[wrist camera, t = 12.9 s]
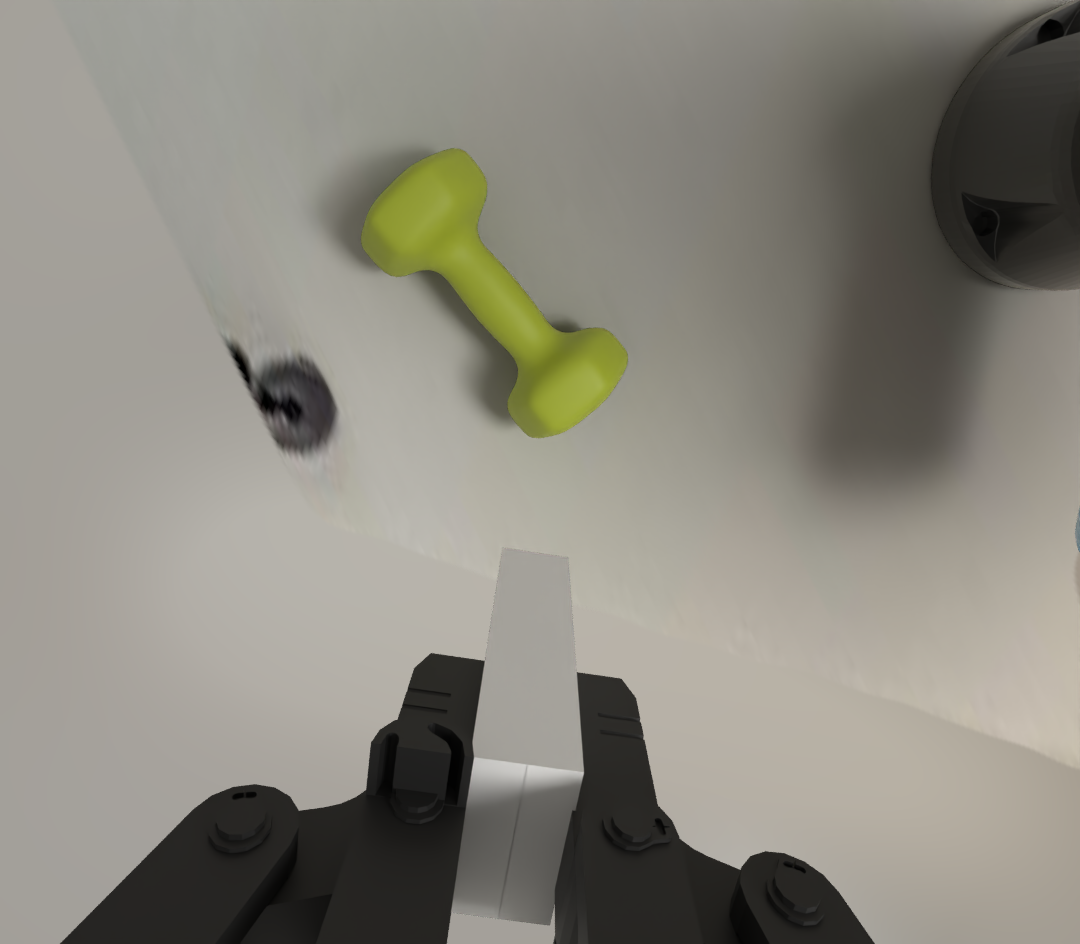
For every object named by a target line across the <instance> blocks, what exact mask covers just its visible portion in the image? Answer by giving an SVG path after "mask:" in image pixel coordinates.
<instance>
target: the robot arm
mask: <svg viewBox="0 0 1080 944" xmlns="http://www.w3.org/2000/svg"><path fill="white" fill-rule="evenodd" d="M932 195H933V202H934V207H935V212H936V216H937V219H938V222H939V225H940V227H941V229H942V232H943V234H944V236H945V238H946V240H947V241H948V243H949V244H950V246H951V248H952V249H953V250H954V252H955V253H956V254H957V255H958V256H959V257H960V259H961V260H962V261H963V262H964V263H966V264H967V265H968V266H969V267H970V268H971V269H973V270H974V271H975V272H977V273H979V274H980V275H982V276H983V277H985V278H987V279H989V280H991V281H994V282H996V283H999V284H1002V285H1006V286H1010V287H1014V288H1021V289H1035V290H1053V291H1057V290H1072V289H1079V288H1080V0H1074V1H1071V2H1069V3H1067V4H1064V5H1062V6H1060V7H1058V8H1056V9H1054V10H1052V11H1050V12H1048V13H1046V14H1044V15H1041V16H1039V17H1037V18H1035V19H1033V20H1032V21H1030V22H1028V23H1026V24H1024V25H1023V26H1021V27H1020V28H1018V29H1016V30H1015V31H1013V32H1012V33H1011V34H1009V35H1008V36H1006V37H1005V38H1004V39H1003V40H1001V41H1000V42H999V43H998V44H997V45H996V46H994V47H993V48H992V49H991V50H990V51H989V52H988V53H987V54H986V55H985V56H984V57H983V58H982V59H981V60H980V61H979V63H978V64H977V65H976V66H975V67H974V69H973V70H972V71H971V72H970V74H969V75H968V76H967V78H966V79H965V80H964V82H963V84H962V85H961V87H960V88H959V90H958V91H957V93H956V95H955V97H954V98H953V100H952V102H951V104H950V106H949V108H948V110H947V113H946V115H945V117H944V120H943V122H942V125H941V128H940V131H939V134H938V138H937V142H936V146H935V151H934V157H933V164H932ZM1075 536H1076V543H1077V546H1078V550H1079V552H1080V508H1079V513H1078V518H1077V523H1076V529H1075ZM572 615H573V614H572V600H571V587H570V573H569V559H568V557H562V556H555V555H549V554H542V553H536V552H529V551H523V550H516V549H509V548H503V547H502V554H501V560H500V566H499V573H498V579H497V586H496V592H495V598H494V605H493V611H492V617H491V624H490V630H489V637H488V643H487V649H486V657H485V661H481V660H475V659H468V658H461V657H454V656H447V655H439V654H432V653H431V654H429V656H427V657H426V658H425V659H424V660H423V661H422V662H421V663H420V664H418V665H417V666H416V667H415V668H414V671H413V674H412V677H411V680H410V683H409V686H408V691H407V692H406V695H405V698H404V702H403V705H402V708H401V711H400V714H399V717H398V720H395V721H393V722H391V723H390V724H388V725H387V726H385V727H384V728H382V729H380V730H379V732H378V733H377V735H376V736H375V738H374V739H373V741H372V742H371V748H370V758H369V769H368V778H367V788H366V791H364V792H363V793H361V794H360V795H358V796H357V797H355V798H353V799H351V800H348V801H346V802H344V803H342V804H338V805H333V806H329V807H324V808H317V809H309V810H302V811H298V809H297V807H296V806H295V804H294V803H293V801H292V799H291V797H290V796H288V795H287V794H284V793H283V792H281V791H280V790H278V789H276V788H274V787H268V786H261V785H255V784H254V785H246V786H238V787H232V788H230V789H227V790H225V791H222V792H220V793H217V794H215V795H212V796H211V797H209V798H208V799H207V800H205V801H204V802H203V803H201V804H200V805H199V806H197V807H196V808H195V809H193V810H192V811H191V812H190V813H189V814H188V815H187V816H186V817H185V818H184V819H183V820H182V821H181V823H180V824H178V825H177V826H176V828H174V830H172V832H171V833H170V834H169V835H168V836H167V837H166V838H165V839H164V840H163V841H162V842H161V843H160V844H159V845H158V846H157V847H156V848H155V849H154V850H153V851H152V852H151V853H150V854H149V855H148V856H147V857H146V858H145V859H144V860H143V861H142V862H141V863H140V864H139V865H138V866H137V867H136V868H135V869H134V870H133V871H132V872H131V873H130V874H129V875H128V876H127V877H126V878H125V879H124V880H123V881H122V882H121V883H120V884H119V885H118V886H117V887H116V888H115V889H114V890H113V891H112V892H111V893H110V894H109V895H108V896H107V897H106V898H105V899H104V900H103V901H102V902H101V903H100V904H99V905H98V906H97V907H96V908H95V909H94V910H93V911H92V912H91V913H90V914H89V915H88V916H87V917H86V918H85V919H84V920H83V921H82V922H81V923H80V924H79V925H78V926H77V927H76V928H75V929H74V930H73V931H72V932H71V934H69V935H68V937H66V938H65V939H64V940H63V941H62V942H61V943H60V944H447V937H448V930H449V923H450V916H451V913H457V914H466V915H473V916H480V917H489V918H496V919H504V920H511V921H519V922H527V923H534V924H543V925H550V922H551V918H552V913H553V909H554V904H555V938H554V942H553V944H875V943H874V942H873V941H872V939H871V938H870V936H869V935H868V934H867V932H866V931H865V929H864V928H863V926H862V925H861V923H860V922H859V921H858V919H857V918H856V916H855V915H854V913H853V912H852V910H851V909H850V908H849V906H848V905H847V903H846V902H845V901H844V899H843V897H842V896H841V895H840V893H839V892H838V891H837V890H836V889H835V887H834V886H833V885H832V884H831V883H830V882H829V881H828V880H827V879H826V877H825V876H824V875H823V874H821V873H820V872H818V871H817V870H815V869H814V868H813V867H811V866H809V865H808V864H807V863H806V862H804V861H802V860H799V859H797V858H794V857H792V856H789V855H787V854H784V853H776V852H766V851H765V852H762V853H759V854H756V855H753V856H750V858H749V859H748V860H747V861H746V862H745V864H744V865H743V866H742V868H741V870H739V869H737V868H734V867H732V866H730V865H727V864H725V863H722V862H720V861H717V860H715V859H713V858H710V857H708V856H706V855H704V854H702V853H700V852H698V851H696V850H694V849H693V848H691V847H690V846H689V845H687V844H686V843H685V842H683V841H682V840H681V839H679V835H678V833H677V831H676V829H675V826H674V824H673V822H672V820H671V819H670V818H669V817H668V816H667V815H666V814H665V813H664V812H663V810H662V809H661V808H660V807H658V804H657V799H656V795H655V789H654V785H653V780H652V775H651V770H650V765H649V761H648V755H647V750H646V745H645V741H644V740H643V730H642V726H641V723H640V716H639V711H638V706H637V701H636V698H635V696H634V695H633V694H632V692H631V691H630V690H629V688H628V687H627V686H626V684H625V683H624V682H623V680H622V679H620V678H613V677H605V676H599V675H591V674H585V673H578V672H577V670H576V656H575V643H574V628H573V616H572Z"/></svg>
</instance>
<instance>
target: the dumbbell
mask: <svg viewBox="0 0 1080 944" xmlns="http://www.w3.org/2000/svg"><path fill="white" fill-rule="evenodd" d="M486 195H487V182H486V178H485V176H484V174H483V173H482V171H481V169H480V168H479V167H478V165H477V164H476V163H475V162H474V160H473V159H472V158H471V157H470V156H469V154H467V153H466V152H465V151H463V150H461V149H455V148H451V149H447V150H443V151H441V152H438V153H436V154H433V155H431V156H428V157H426V158H424V159H422V160H420V161H418V162H417V163H415V164H413V165H412V166H410V167H409V168H408V169H406V170H405V171H404V172H403V173H402V174H401V175H399V176H398V177H397V178H396V179H395V180H394V181H393V182H392V183H391V184H390V185H389V186H388V187H387V188H386V189H385V190H384V191H383V192H382V193H381V195H380V196H379V197H378V198H377V199H376V201H375V202H374V203H373V205H372V206H371V208H370V210H369V212H368V214H367V216H366V219H365V223H364V226H363V230H362V234H361V244H362V247H363V249H364V250H365V252H366V253H367V254H368V256H369V257H370V258H371V259H372V260H373V261H374V263H375V264H376V265H377V266H378V267H379V268H380V269H382V270H383V271H384V272H385V273H387V274H389V275H391V276H395V277H401V276H406V275H409V274H412V273H414V272H417V271H422V270H432V271H435V272H438V273H439V274H441V275H442V276H443V277H444V278H446V279H447V281H448V282H449V283H450V284H451V286H452V287H453V288H454V290H455V291H456V292H457V294H458V295H459V296H460V298H461V299H462V300H463V302H464V303H465V304H466V306H467V307H468V308H469V309H470V311H471V312H472V313H473V315H474V316H475V317H476V318H477V319H478V321H479V322H480V323H481V324H482V325H483V326H484V327H485V328H486V329H487V330H488V331H489V332H490V334H491V335H492V336H493V337H494V338H495V339H496V340H497V341H498V342H499V343H500V344H501V345H502V346H503V347H504V348H505V349H506V350H507V351H508V352H509V353H510V354H511V355H512V356H513V358H514V359H515V361H516V364H517V367H518V378H517V381H516V384H515V386H514V388H513V390H512V392H511V394H510V396H509V399H508V402H507V405H508V411H509V413H510V415H511V417H512V418H513V420H514V421H515V422H516V424H517V425H518V426H519V427H520V428H521V429H522V430H523V432H524V433H526V434H527V435H528V436H530V437H532V438H544V437H549V436H553V435H557V434H560V433H563V432H565V431H567V430H569V429H570V428H572V427H573V426H575V425H576V424H578V423H579V422H580V421H582V420H583V419H584V418H585V417H587V416H588V415H589V414H590V413H592V412H593V411H594V410H595V409H596V408H597V407H599V406H600V405H601V404H602V403H603V402H604V401H605V400H606V399H607V397H608V396H609V395H610V393H611V392H612V391H613V389H614V388H615V386H616V385H617V383H618V381H619V380H620V378H621V376H622V375H623V373H624V371H625V369H626V366H627V362H628V355H627V352H626V350H625V348H624V347H623V346H622V345H621V343H620V342H619V341H618V340H617V338H616V337H615V336H614V335H613V334H612V333H610V332H609V331H608V330H605V329H603V328H587V329H583V330H580V331H576V332H570V333H565V332H560V331H557V330H556V329H554V328H553V327H552V326H551V325H550V324H549V323H548V322H547V320H546V319H545V318H544V316H543V315H542V313H541V312H540V310H539V309H538V308H537V306H536V305H535V304H534V302H533V301H532V300H531V299H530V297H529V296H528V295H527V293H526V292H525V291H524V290H523V288H522V287H521V286H520V285H519V283H518V282H517V281H516V280H515V279H514V278H513V276H512V275H511V274H510V273H509V272H508V271H507V270H506V269H505V267H504V266H503V265H502V264H501V263H500V262H499V261H498V259H497V258H496V257H495V256H494V255H493V254H492V253H491V252H490V251H489V250H488V249H487V248H486V247H485V246H484V245H483V243H482V242H481V240H480V238H479V235H478V230H477V226H478V220H479V216H480V213H481V211H482V208H483V206H484V203H485V199H486Z"/></svg>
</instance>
